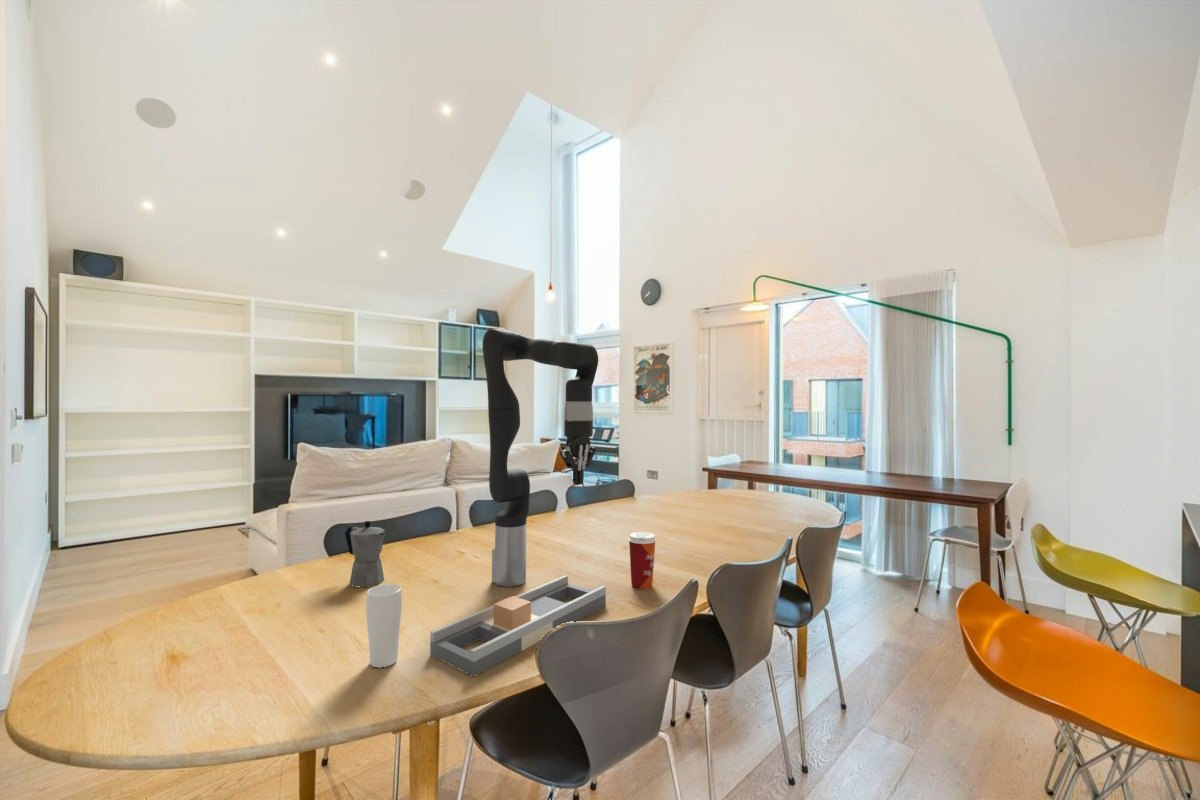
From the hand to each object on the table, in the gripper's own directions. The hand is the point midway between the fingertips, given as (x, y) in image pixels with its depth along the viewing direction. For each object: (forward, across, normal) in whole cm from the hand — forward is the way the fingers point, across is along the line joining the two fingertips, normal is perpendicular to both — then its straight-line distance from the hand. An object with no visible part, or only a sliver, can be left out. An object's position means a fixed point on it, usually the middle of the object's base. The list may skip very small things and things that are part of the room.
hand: (578, 484), depth 136 cm
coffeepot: (+32, +25, -61) cm, 73 cm away
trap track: (+32, +17, -1) cm, 36 cm away
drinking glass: (+32, +47, -13) cm, 58 cm away
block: (+29, +22, -1) cm, 37 cm away
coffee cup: (+32, -22, +6) cm, 40 cm away
